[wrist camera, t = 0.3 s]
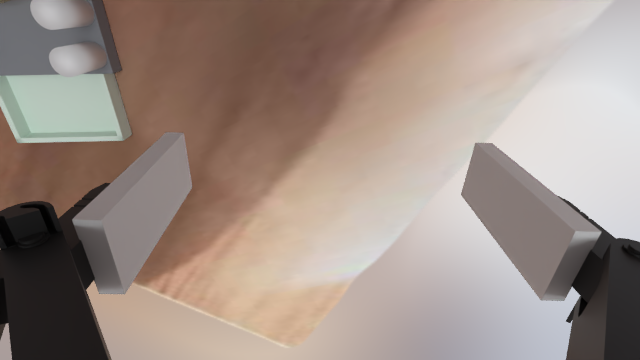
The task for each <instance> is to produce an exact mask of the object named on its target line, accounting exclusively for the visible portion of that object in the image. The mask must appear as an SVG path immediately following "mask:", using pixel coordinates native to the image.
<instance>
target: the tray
mask: <svg viewBox="0 0 640 360" xmlns="http://www.w3.org/2000/svg"><path fill="white" fill-rule="evenodd" d="M0 106H1V109H2V111H3V113H4V115H5V117H6V119H7V121H8V123H9V126H10V128H11V130H12V132H13V134H14V136H15V138H16V140H17V143H37V142H83V141H124V140H125V139H127V138H128V137H129V136H131V135H132V132H131V129H130V125H129V122H128V118H127V115H126V112H125V108H124V105H123V101H122V98H121V95H120V91H119V88H118V84H117V81H116V78H115V74H114V73H113V74H80V75H77V76H74V77H65V76H62V75H10V76H0Z"/></svg>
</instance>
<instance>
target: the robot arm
mask: <svg viewBox="0 0 640 360" xmlns="http://www.w3.org/2000/svg"><path fill="white" fill-rule="evenodd" d="M191 188H192V182H191V176H190V169H189V163H188V157H187V150H186V144H185V137H184V133H173V132H166V133H165V134H164V135H163V136H162V137H161V138H159V139H158V140H157V141H156V142H155V143H154V144H153V145H152V146H151V147H150V148H149V149H148V150H146V151H145V152H144V153H143V154H142V155H141V156H140V157H139V158H138V159H137V160H136V161H135V162H133V163H132V164H131V165H130V166H129V167H128V168H127V169H126V170H125V171H124V172H123V173H122V174H121V175H119V176H118V177H117V178H116V179H115V180H114V181H113V182H112V183H104V184H102V185H100V186H98V187H96V188H94V189H92V190H91V191H90V192H89V193H87V194H86V195H85V196H84V197H83V198H82V200H79V201H78V202H77V203H76V204H75V205H74V207H71V208H70V209H69V210H68V211H67V212H66V213H64V214H63V215H62V216H61V217H60V218H59V219H58V218H57V215H56V213H55V210H54V207H53V206H52V205H51V204H50V203H48V202H43V201H33V202H26V203H21V204H17V205H14V206H11V207H8V208H6V209H4V210H2V211H0V249H1V250H0V339H1V336H2V333H3V330H4V327H5V324H6V323H9V333H10V342H11V351H12V360H111V357H110V354H109V351H108V349H107V346H106V343H105V341H104V338H103V335H102V332H101V329H100V327H99V324H98V322H97V318H96V316H95V313H94V310H93V307H92V305H91V302H90V299H89V297H88V294H87V291H86V289H87V288H88V287H89V285H90V284H91V283H92V282H93V280H94V281H95V283H96V286H97V289H98V292H99V294H125V293H126V291H127V290H128V288H129V287H130V285H131V284H132V282H133V281H134V279H135V277H136V276H137V274H138V273H139V271H140V269H141V268H142V266H143V265H144V263H145V261H146V260H147V258H148V257H149V255H150V254H151V252H152V250H153V249H154V247H155V246H156V244H157V242H158V241H159V239H160V238H161V236H162V234H163V233H164V231H165V230H166V228H167V227H168V225H169V223H170V222H171V220H172V219H173V217H174V215H175V214H176V212H177V211H178V209H179V207H180V206H181V204H182V203H183V201H184V200H185V198H186V196H187V195H188V193H189V192H190V190H191ZM461 195H462V197H463V198H464V199H465V201H466V202H467V203H468V204H469V206H470V207H471V208H472V210H473V211H474V212H475V214H476V215H477V216H478V218H479V219H480V220H481V222H482V223H483V224H484V226H485V227H486V228H487V230H488V231H489V232H490V233H491V235H492V236H493V238H494V239H495V240H496V241H497V243H498V244H499V245H500V247H501V248H502V249H503V251H504V252H505V253H506V255H507V256H508V257H509V259H510V260H511V261H512V263H513V264H514V265H515V267H516V268H517V269H518V270H519V272H520V273H521V275H522V276H523V277H524V278H525V280H526V281H527V282H528V284H529V285H530V286H531V288H532V289H533V290H534V292H535V293H536V294H537V296H538V297H539V298H540V300H552V301H553V300H555V301H564V300H565V298H566V296H567V294H568V292H569V291H570V289H571V287H573V288H574V289H575V290H576V291H577V292H578V293H579V294H580V295H581V296H580V297H579V299H578V301H577V303H576V304H575V306H574V308H573V310H572V311H571V313H570V315H569V317H568V319H567V320H566V321H567V322H569V323H570V322H571V321H572V320H573V322H572V327H571V334H570V339H569V345H568V351H567V358H566V360H640V242H637V241H634V240H630V239H623V238H618V239H616V238H614V237H613V236H612V235H611V234H609V233H608V232H607V231H606V230H604V229H603V228H602V227H600V226H599V225H598V224H597V223H596V222H594V221H593V220H592V219H589V218H588V216H586V215H585V214H584V213H583V212H580V210H579V209H578V208H577V207H575V206H574V205H573V204H571V203H570V202H569V201H567V200H565V199H562V198H561V197H559V196H557V195H555V194H554V193H553V192H552V191H550V190H549V189H548V188H547V187H545V186H544V185H543V184H542V183H541V182H539V181H538V180H537V179H535V178H534V177H533V176H532V175H531V174H529V173H528V172H527V171H526V170H524V169H523V168H522V167H521V166H519V165H518V164H517V163H516V162H515V161H513V160H512V159H511V158H509V157H508V156H507V155H506V154H504V153H503V152H502V151H501V150H499V149H498V148H497V147H496V146H495V145H493V144H492V143H475V147H474V150H473V154H472V157H471V161H470V164H469V168H468V171H467V175H466V178H465V182H464V186H463V189H462V193H461Z"/></svg>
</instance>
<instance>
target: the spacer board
mask: <svg viewBox="0 0 640 360" xmlns="http://www.w3.org/2000/svg"><path fill="white" fill-rule="evenodd" d="M121 70H122V69H121V65H120V62H119V58H118V55H117V51H116V48H115V44H114V40H113V37H112V33H111V30H110V26H109V23H108V19H107V16H106V12H105V9H104V5H103V1H102V0H10V1H7V2H4V3H0V76H10V75H62V76H65V77H74V76H77V75H80V74H113V73H116V72H119V71H121Z"/></svg>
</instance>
